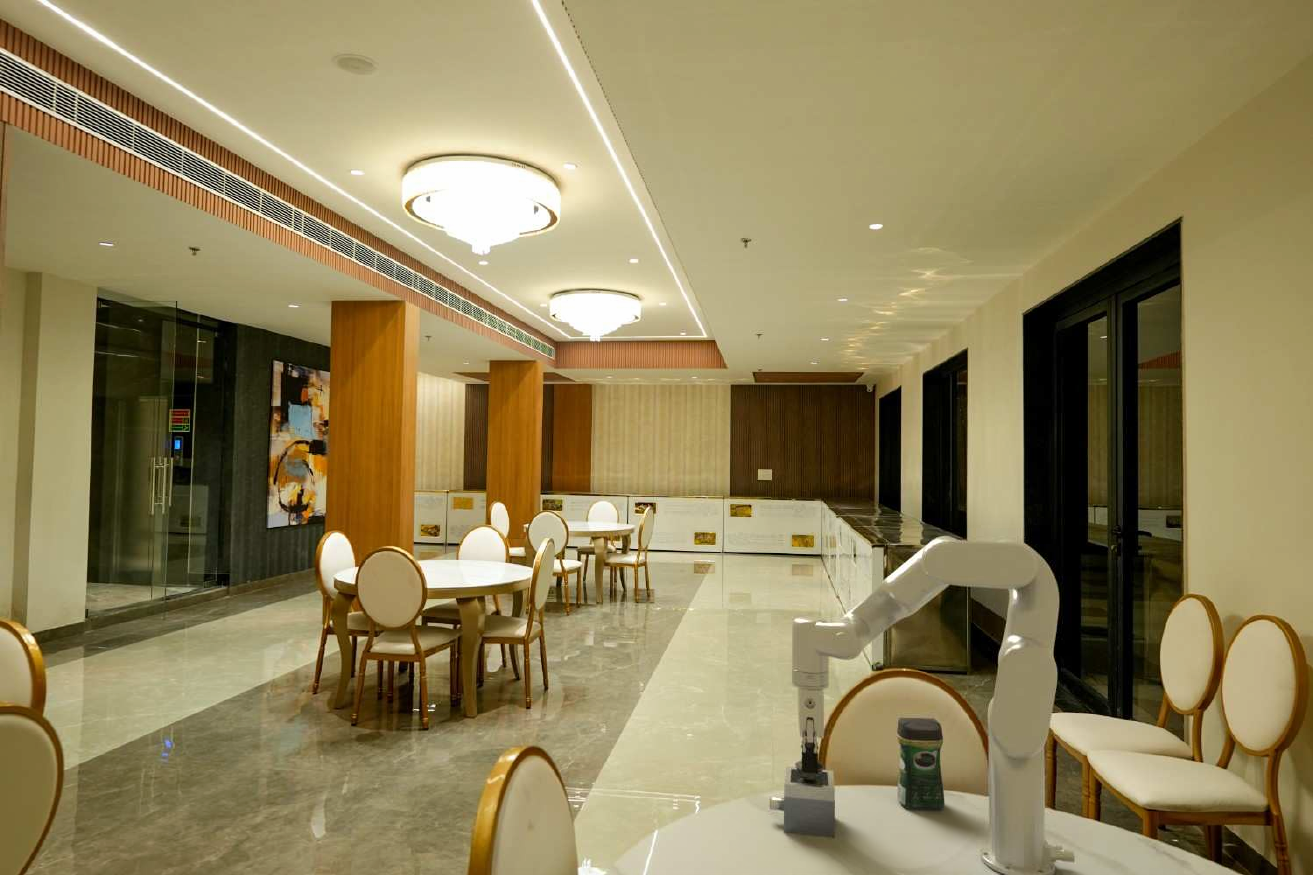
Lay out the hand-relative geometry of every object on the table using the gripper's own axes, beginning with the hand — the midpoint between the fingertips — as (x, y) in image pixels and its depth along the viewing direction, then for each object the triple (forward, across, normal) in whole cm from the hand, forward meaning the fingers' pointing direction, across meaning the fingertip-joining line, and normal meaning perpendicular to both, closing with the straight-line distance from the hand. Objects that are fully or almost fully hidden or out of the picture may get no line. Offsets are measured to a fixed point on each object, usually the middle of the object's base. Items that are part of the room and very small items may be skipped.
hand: (809, 765), depth 160 cm
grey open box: (+12, +1, +2) cm, 12 cm away
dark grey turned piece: (+4, 0, 0) cm, 4 cm away
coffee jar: (+12, +16, -24) cm, 31 cm away
